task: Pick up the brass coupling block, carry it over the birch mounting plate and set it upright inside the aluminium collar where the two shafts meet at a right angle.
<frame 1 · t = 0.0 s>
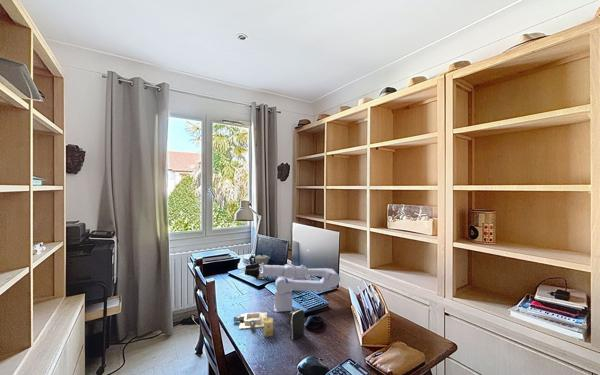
hand: (245, 269, 138), 22 cm above the table, tool horizontal, fingers open, 7 cm apart
coffeepot: (259, 277, 188), on the table
coupling block: (268, 333, 117), on the table
ink cartridge box: (286, 287, 170), on the table
coupling hub: (252, 321, 128), on the table
battery charger: (296, 336, 115), on the table
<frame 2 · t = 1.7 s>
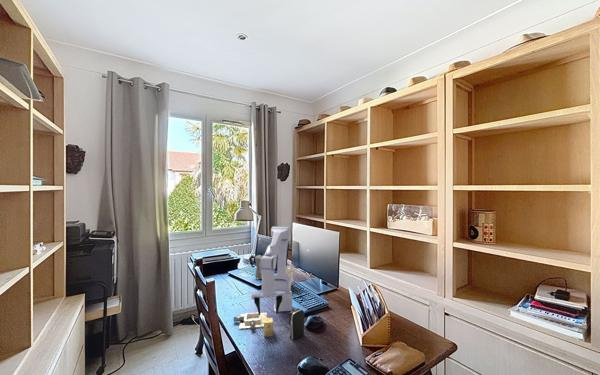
hand: (268, 313, 117), 9 cm above the table, tool pointing down, fingers open, 7 cm apart
nothing on the table moved.
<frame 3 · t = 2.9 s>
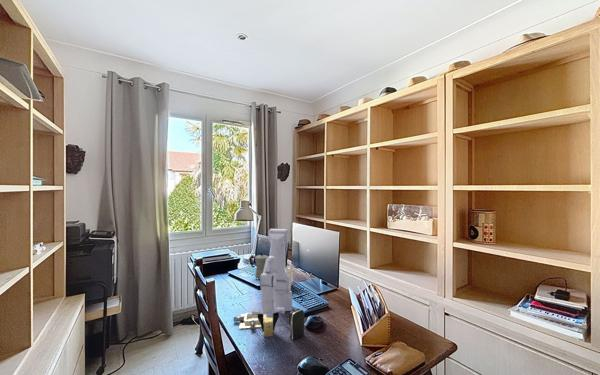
hand: (268, 329, 117), 2 cm above the table, tool pointing down, fingers closed on coupling block, 4 cm apart
coupling block: (268, 333, 117), on the table, touching gripper
everything else where it was.
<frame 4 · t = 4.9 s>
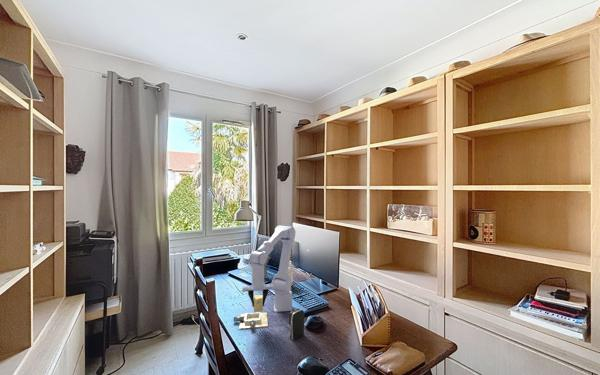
hand: (258, 305, 124), 9 cm above the table, tool pointing down, fingers closed on coupling block, 4 cm apart
coupling block: (258, 309, 124), point 8 cm above the table, touching gripper
everything else where it was.
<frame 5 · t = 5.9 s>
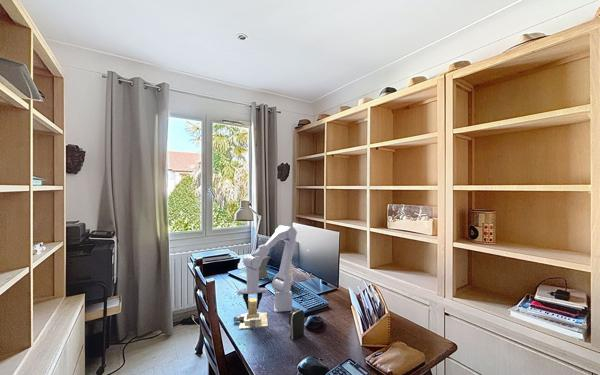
hand: (252, 308, 128), 6 cm above the table, tool pointing down, fingers closed on coupling block, 4 cm apart
coupling block: (252, 312, 127), point 4 cm above the table, touching gripper
everything else where it was.
when the fingers open (4 cm above the table, at t = 6.8 s): coupling block drops 1 cm, resting on coupling hub.
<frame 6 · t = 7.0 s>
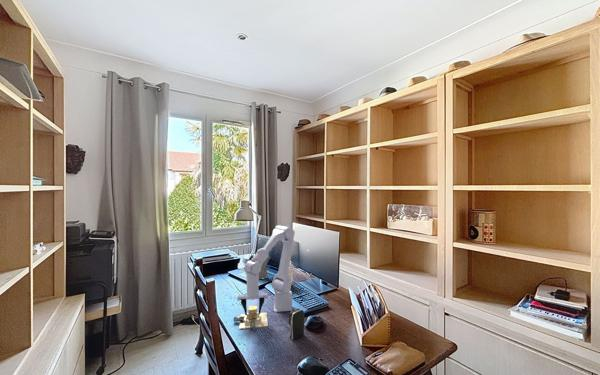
hand: (252, 313, 128), 4 cm above the table, tool pointing down, fingers open, 6 cm apart
coupling block: (252, 320, 127), point 1 cm above the table, touching coupling hub
everything else where it was.
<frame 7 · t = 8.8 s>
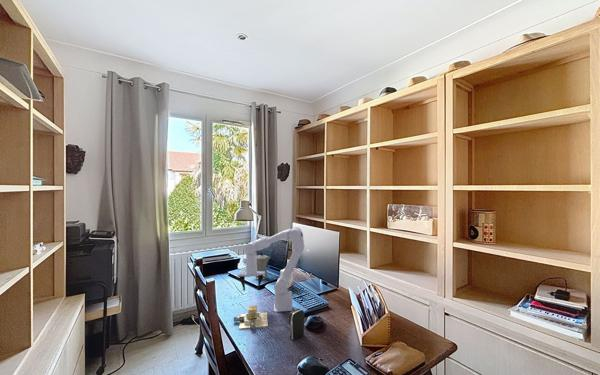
hand: (251, 289, 142), 9 cm above the table, tool pointing down, fingers open, 7 cm apart
nothing on the table moved.
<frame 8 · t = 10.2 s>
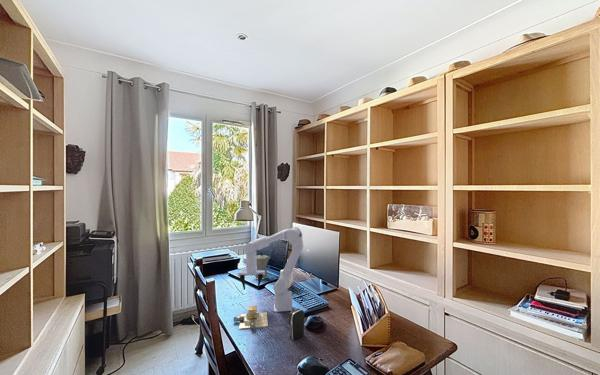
hand: (251, 288, 144), 9 cm above the table, tool pointing down, fingers open, 7 cm apart
nothing on the table moved.
at the end: coupling block 0.2 cm off-centre on the coupling hub, point 0.6 cm above the coupling hub's base; coupling block tilted 0°; the gripper is holding nothing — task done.
